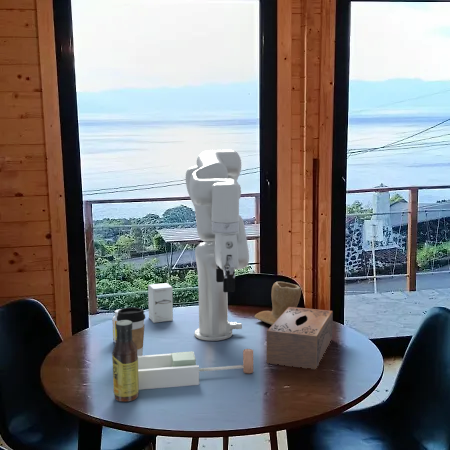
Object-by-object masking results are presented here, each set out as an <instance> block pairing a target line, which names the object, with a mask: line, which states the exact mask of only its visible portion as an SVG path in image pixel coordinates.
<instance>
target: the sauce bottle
mask: <svg viewBox="0 0 450 450" xmlns="http://www.w3.org/2000/svg"><path fill="white" fill-rule="evenodd" d="M132 327H133V326H132V321H129V320H121V321H118V322H116V329H117V338H116V339H117V340H116V343H115V342H114V344H115V345H114V347H113V350H112V353H111V354H112V355H111V356H112V360H111V361H112V379H113V380H112V381H113V384H112V385H113V395H114V398H115V400H116V401H118V402H122V403H123V402H124V403H126V402H133V401H135V400H136V399H137V398H138V397H139V391H140V390H139V381H138V356H137V346H136V344H135V343H134V342H133V340H132Z"/></svg>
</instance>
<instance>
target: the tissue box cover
mask: <svg viewBox="0 0 450 450" xmlns="http://www.w3.org/2000/svg"><path fill="white" fill-rule="evenodd" d="M333 315H334V311H333V310H328V309H327V310H326V309H318V308H317V309H316V308H315V309H314V308H304V307H296V308H295V307H288V308H287V309H286V310H285V312H284V313H283V314H282V315H281V316H280V317H279V318H278V319H277V320H276V321H275V322H274V324H273V325H271V326H270V327H269V328H268V329H267V330H266V364H269V363H270V364H271V365H277V364H279V365H278V366H284V365H285V366H286V367H292V366H293V368H294V367H295V368H300V367H302V368H303V369H307V368H311V369H310V370H315V369H316V368H317V369H318V367H319V365H320V364H319V362H320V360H321V359H322V360H323V358H324V356H323V354H324V353H325V354H326V352H327V351H326V349H327V347H328V345H329V343H330V341H331V339H332V340H333ZM331 342H332V341H331ZM330 344H331V343H330ZM329 346H330V345H329ZM328 348H329V347H328ZM327 350H328V349H327ZM325 351H326V352H325ZM325 354H324V355H325ZM322 357H323V358H322ZM322 360H321V361H322ZM320 363H321V362H320ZM270 364H269V365H270ZM285 366H284V367H285ZM317 366H318V367H317ZM317 369H316V370H317Z"/></svg>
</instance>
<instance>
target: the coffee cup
mask: <svg viewBox="0 0 450 450" xmlns="http://www.w3.org/2000/svg"><path fill="white" fill-rule="evenodd" d="M120 309H121V310H119V311H118V316H117V321H121V320H129V321H132V326H133V327H132V340H133V342H134V343H135V344H136V346H137V356H144V354H143V352H144V351H143V349H144V341H145V340H144V339H145V338H144V337H145V336H144V335H145V320H146V314H145V312H144V309H143V308H141V307H140V308H139V307H124V308H120Z"/></svg>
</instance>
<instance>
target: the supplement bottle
mask: <svg viewBox="0 0 450 450" xmlns="http://www.w3.org/2000/svg"><path fill="white" fill-rule="evenodd" d="M121 309H122V308H120V309H116V310H114V316H113V317H112V339H113V342H114V344H115V343H116V340H117V339H116V338H117V329H116V322H118V321H117V316H118V311H119V310H121Z"/></svg>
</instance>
